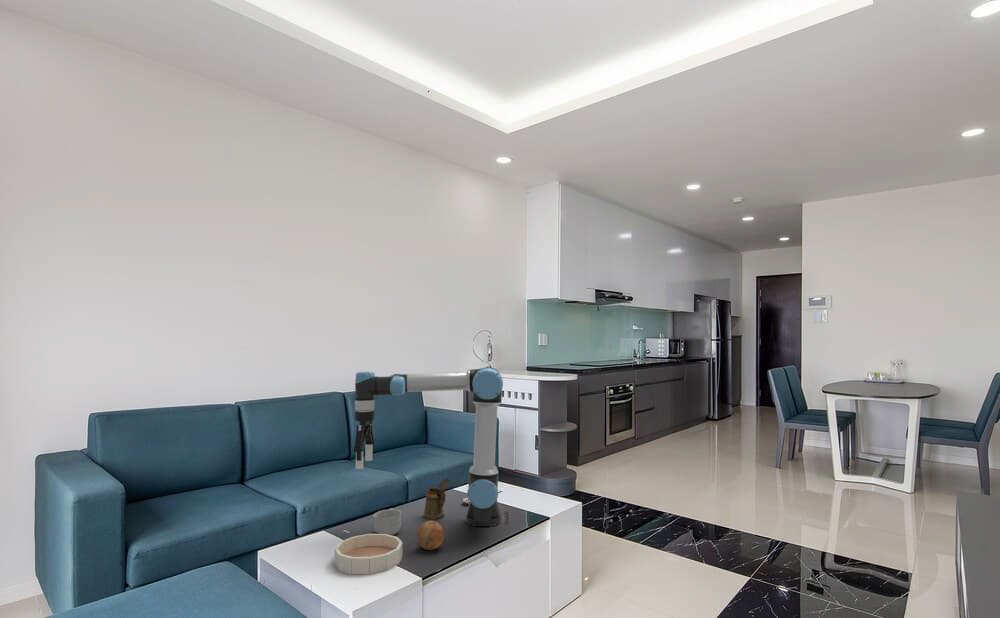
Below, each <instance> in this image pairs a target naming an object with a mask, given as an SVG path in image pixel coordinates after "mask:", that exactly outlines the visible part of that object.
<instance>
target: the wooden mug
mask: <svg viewBox="0 0 1000 618" xmlns="http://www.w3.org/2000/svg"><path fill="white" fill-rule="evenodd" d="M450 484H451V478H450V477H449V476H448V477H446V478H445V479H443V480H442V481H441V482H440V483H439V484H438V487H430V488H428V489H427V490H426V494H425V497H426V499H425V504H424V510H423V516H422V517H423V519H426V520H438V519H439V520H440V519H442V518H444V517H445V510H444V505H445V503H446V498H447V497H446V491H445V490H446V489H447V487H449V485H450Z"/></svg>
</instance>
